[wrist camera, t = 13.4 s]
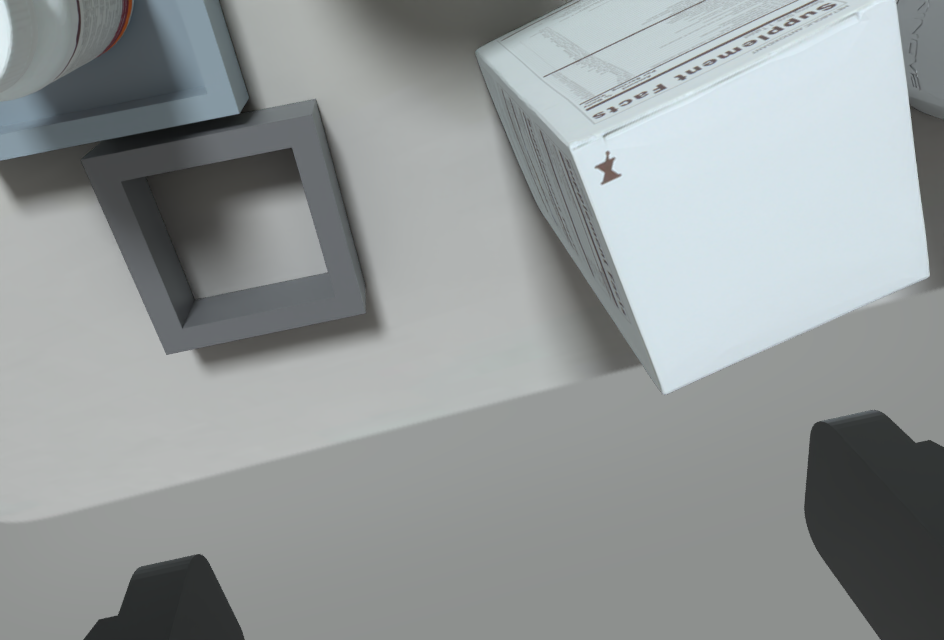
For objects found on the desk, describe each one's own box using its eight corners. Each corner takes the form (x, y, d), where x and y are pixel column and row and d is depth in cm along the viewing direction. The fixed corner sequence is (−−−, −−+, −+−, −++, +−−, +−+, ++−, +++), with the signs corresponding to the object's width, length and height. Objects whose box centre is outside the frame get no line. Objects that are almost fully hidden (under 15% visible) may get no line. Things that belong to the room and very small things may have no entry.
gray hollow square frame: (315, 98, 34) (311, 114, 31) (365, 286, 39) (365, 313, 36) (102, 140, 33) (80, 160, 31) (179, 324, 38) (166, 354, 36)
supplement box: (540, 219, 38) (653, 409, 23) (468, 49, 34) (551, 153, 19) (714, 138, 37) (943, 283, 23) (663, -48, 33) (909, -17, 18)
